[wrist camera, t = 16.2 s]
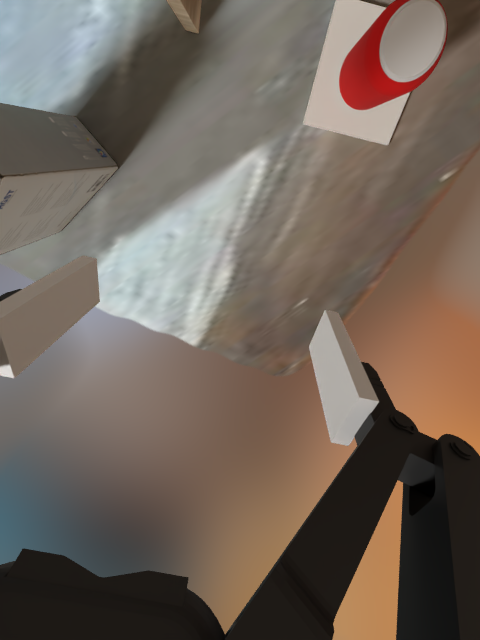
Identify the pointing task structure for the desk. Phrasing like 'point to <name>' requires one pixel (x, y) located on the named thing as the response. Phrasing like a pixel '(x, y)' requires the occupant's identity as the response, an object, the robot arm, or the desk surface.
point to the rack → (187, 13)
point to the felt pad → (325, 94)
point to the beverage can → (394, 53)
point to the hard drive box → (45, 173)
